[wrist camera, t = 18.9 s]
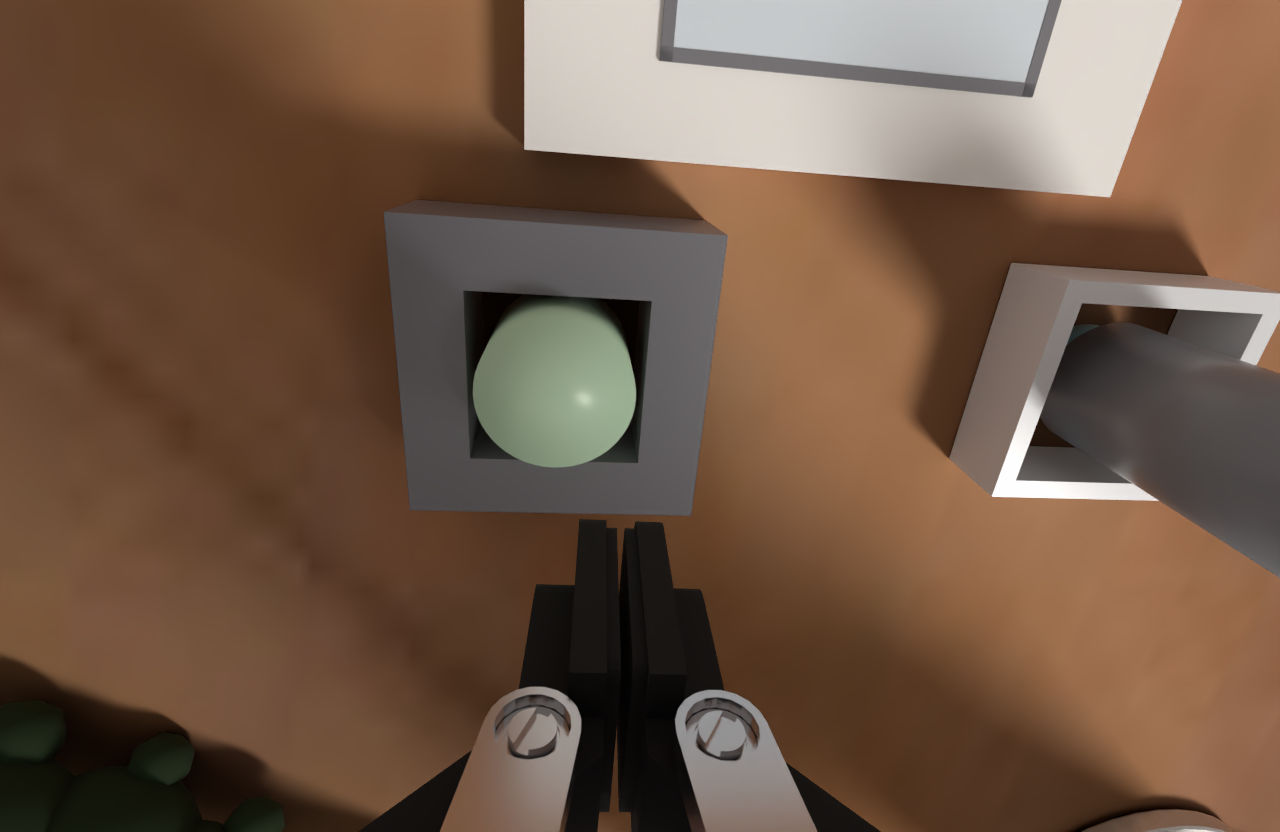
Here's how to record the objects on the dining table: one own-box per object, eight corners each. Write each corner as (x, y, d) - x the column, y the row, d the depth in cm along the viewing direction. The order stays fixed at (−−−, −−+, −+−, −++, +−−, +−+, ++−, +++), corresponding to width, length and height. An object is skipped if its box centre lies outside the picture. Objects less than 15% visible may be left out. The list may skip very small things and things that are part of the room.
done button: (631, 288, 18) (642, 322, 15) (622, 415, 19) (630, 469, 16) (490, 280, 17) (470, 312, 14) (493, 410, 19) (475, 465, 16)
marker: (1153, 314, 20) (1662, 475, 11) (1104, 428, 22) (1506, 655, 12) (1036, 306, 20) (1457, 467, 10) (995, 423, 21) (1324, 655, 12)
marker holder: (1210, 276, 20) (1291, 294, 17) (1125, 464, 22) (1186, 501, 20) (1011, 262, 19) (1069, 279, 17) (948, 458, 22) (991, 496, 19)
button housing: (705, 220, 18) (727, 235, 15) (677, 465, 21) (691, 515, 18) (416, 199, 17) (383, 211, 14) (433, 459, 20) (410, 510, 17)
